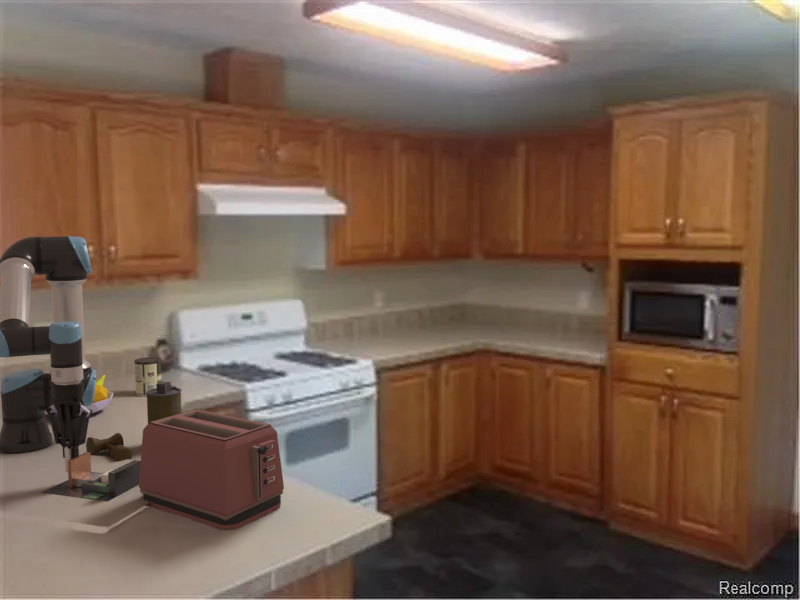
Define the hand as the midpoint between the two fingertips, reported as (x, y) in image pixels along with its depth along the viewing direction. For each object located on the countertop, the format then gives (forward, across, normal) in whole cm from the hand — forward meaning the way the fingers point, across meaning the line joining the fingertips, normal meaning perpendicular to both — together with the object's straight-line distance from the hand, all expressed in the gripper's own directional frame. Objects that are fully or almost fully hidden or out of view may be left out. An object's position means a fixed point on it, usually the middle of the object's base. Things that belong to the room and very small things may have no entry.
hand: (71, 470), depth 184 cm
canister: (+5, +2, +38) cm, 38 cm away
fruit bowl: (+5, -52, +61) cm, 81 cm away
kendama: (+5, -8, +24) cm, 26 cm away
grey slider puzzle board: (+4, +8, 0) cm, 9 cm away
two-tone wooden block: (+3, +5, 0) cm, 6 cm away
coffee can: (+5, -46, +94) cm, 105 cm away
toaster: (+5, +42, +1) cm, 42 cm away
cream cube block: (+3, +13, 0) cm, 13 cm away
